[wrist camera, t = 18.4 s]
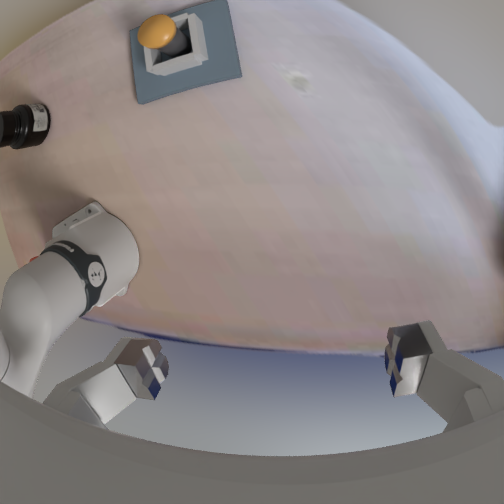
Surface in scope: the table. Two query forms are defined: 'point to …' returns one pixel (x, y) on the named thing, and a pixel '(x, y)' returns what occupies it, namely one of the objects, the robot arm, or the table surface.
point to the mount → (193, 64)
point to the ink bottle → (24, 126)
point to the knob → (164, 36)
